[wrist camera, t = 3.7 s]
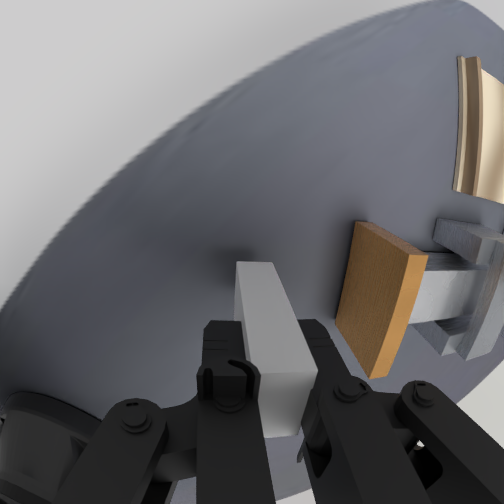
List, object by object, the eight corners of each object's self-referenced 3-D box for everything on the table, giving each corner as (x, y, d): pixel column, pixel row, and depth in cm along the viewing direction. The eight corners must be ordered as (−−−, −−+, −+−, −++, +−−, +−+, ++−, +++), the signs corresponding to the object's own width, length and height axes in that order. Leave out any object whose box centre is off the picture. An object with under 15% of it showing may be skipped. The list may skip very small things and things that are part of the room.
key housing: (408, 321, 17) (449, 365, 13) (437, 217, 15) (495, 244, 10) (454, 315, 18) (493, 350, 13) (481, 224, 16) (532, 248, 11)
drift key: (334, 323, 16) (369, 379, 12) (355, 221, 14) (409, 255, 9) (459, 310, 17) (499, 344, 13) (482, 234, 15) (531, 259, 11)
